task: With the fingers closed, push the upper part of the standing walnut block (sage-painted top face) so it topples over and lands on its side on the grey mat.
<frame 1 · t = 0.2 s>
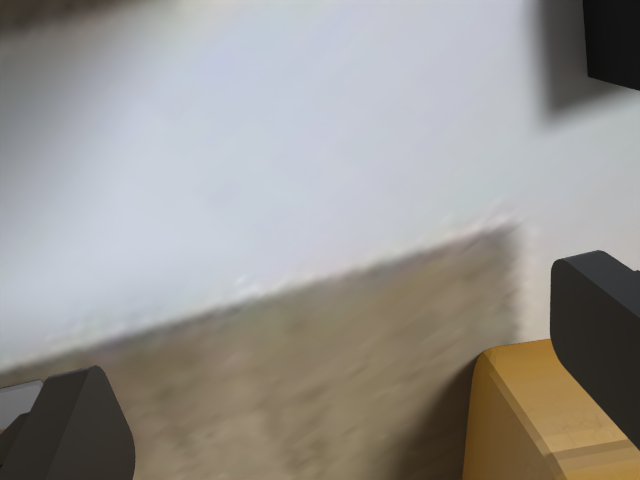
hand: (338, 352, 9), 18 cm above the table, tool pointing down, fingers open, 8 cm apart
bread: (538, 461, 40), on the table
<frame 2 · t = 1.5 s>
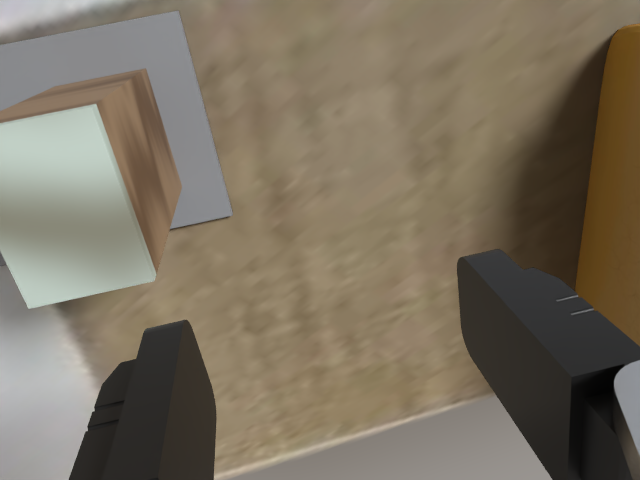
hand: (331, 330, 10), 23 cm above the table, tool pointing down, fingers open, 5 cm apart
mat: (19, 159, 30), on the table
block: (121, 139, 30), resting on mat
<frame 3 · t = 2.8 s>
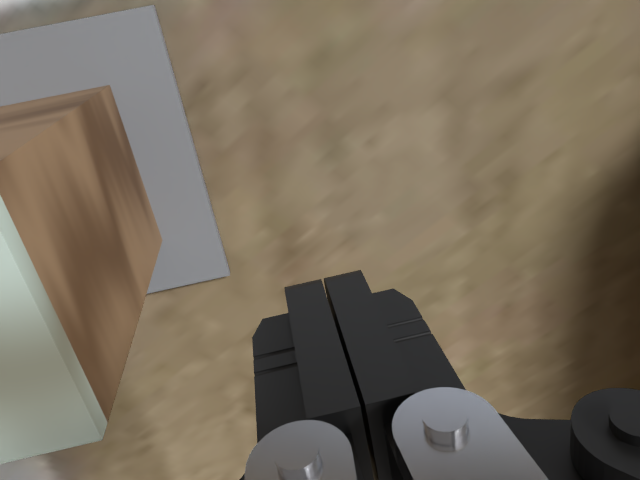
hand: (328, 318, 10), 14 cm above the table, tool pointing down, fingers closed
block: (79, 180, 22), resting on mat
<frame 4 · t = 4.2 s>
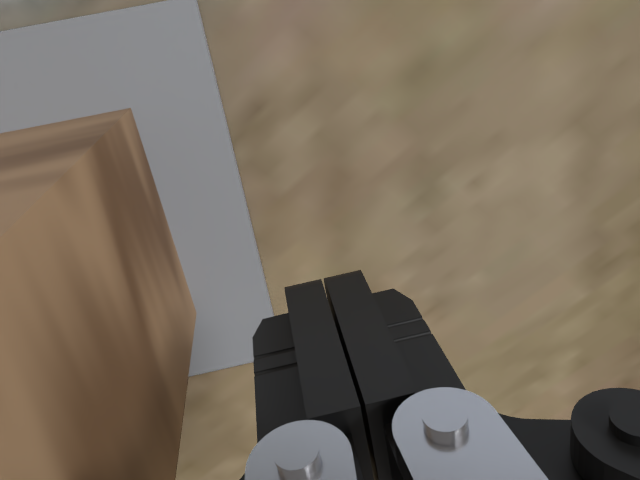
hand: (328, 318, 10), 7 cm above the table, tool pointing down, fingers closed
block: (86, 236, 16), resting on mat
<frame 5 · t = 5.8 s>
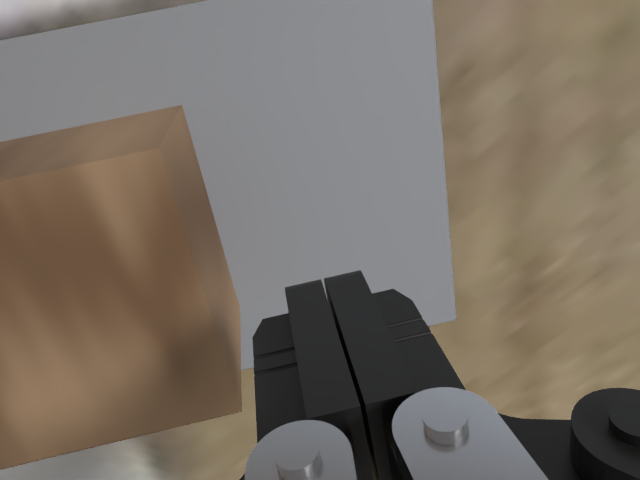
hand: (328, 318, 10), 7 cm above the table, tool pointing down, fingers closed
mat: (106, 235, 17), on the table
block: (210, 249, 14), point 3 cm above the table, tilted 90°, touching mat
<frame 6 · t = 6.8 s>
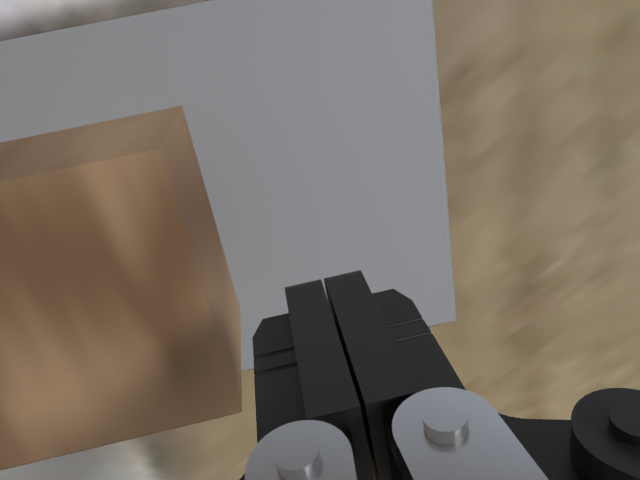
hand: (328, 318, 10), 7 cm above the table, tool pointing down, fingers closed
mat: (106, 235, 17), on the table
block: (210, 250, 14), point 3 cm above the table, tilted 90°, touching mat
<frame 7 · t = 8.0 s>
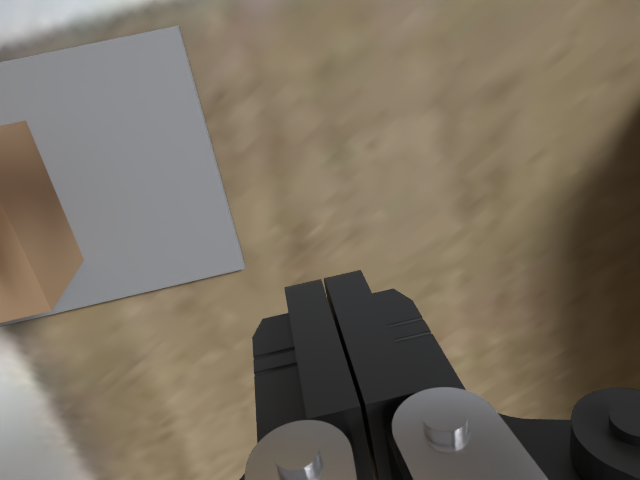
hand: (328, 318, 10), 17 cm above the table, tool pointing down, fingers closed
block: (38, 211, 22), point 3 cm above the table, tilted 90°, touching mat
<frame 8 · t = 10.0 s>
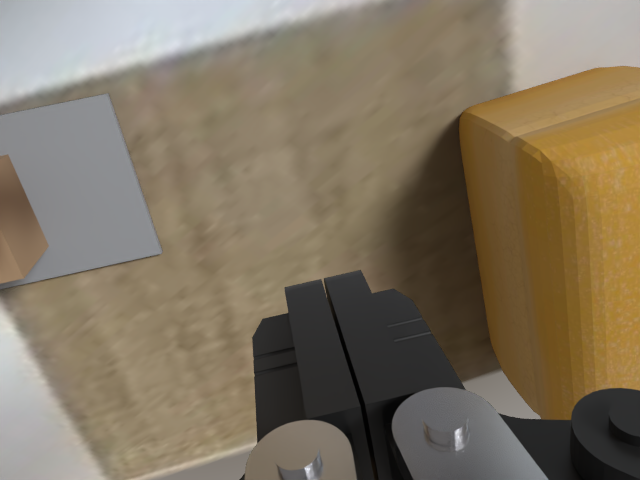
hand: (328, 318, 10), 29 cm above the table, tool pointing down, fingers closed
bread: (543, 226, 45), on the table
block: (15, 214, 35), point 3 cm above the table, tilted 90°, touching mat
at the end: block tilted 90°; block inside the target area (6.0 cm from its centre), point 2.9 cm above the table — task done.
